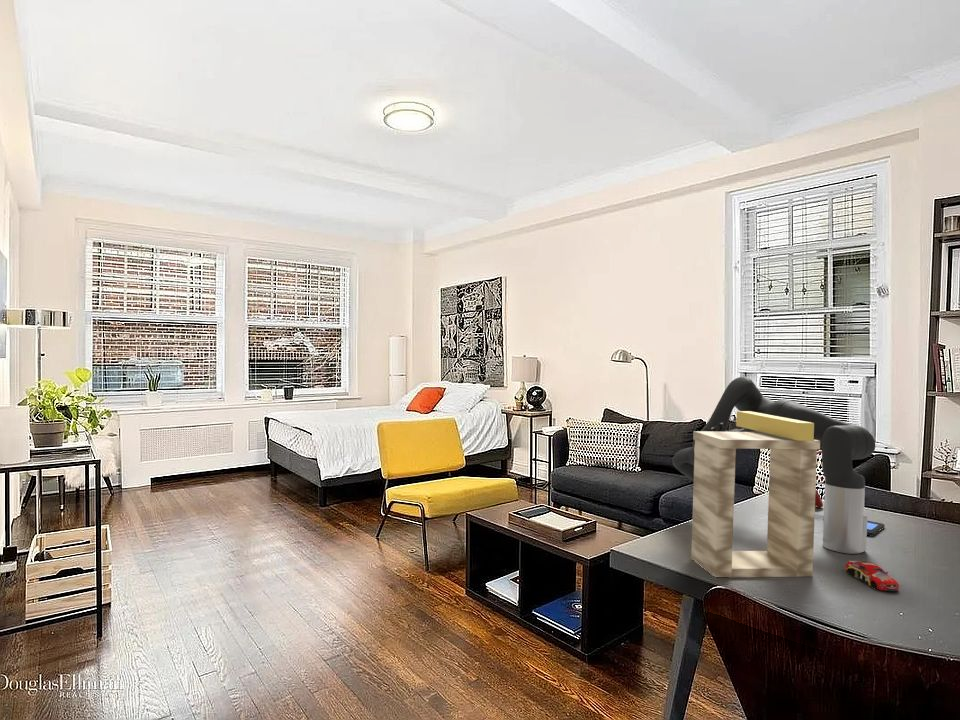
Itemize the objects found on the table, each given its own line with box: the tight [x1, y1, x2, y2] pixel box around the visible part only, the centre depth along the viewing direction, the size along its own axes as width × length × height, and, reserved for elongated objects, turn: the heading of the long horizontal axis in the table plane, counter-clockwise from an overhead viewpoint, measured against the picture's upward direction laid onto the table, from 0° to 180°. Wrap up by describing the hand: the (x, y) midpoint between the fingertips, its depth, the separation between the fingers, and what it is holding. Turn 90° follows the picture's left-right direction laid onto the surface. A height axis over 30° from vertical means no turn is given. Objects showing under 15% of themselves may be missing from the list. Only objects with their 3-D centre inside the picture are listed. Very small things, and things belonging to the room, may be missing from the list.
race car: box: [845, 560, 900, 592], centre depth 138 cm, size 13×5×4 cm, turn 1°
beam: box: [735, 410, 814, 441], centre depth 149 cm, size 4×26×4 cm, turn 6°
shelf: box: [690, 430, 821, 578], centre depth 145 cm, size 24×14×32 cm, turn 96°
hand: (737, 426), depth 165 cm, fingers open, 8 cm apart
